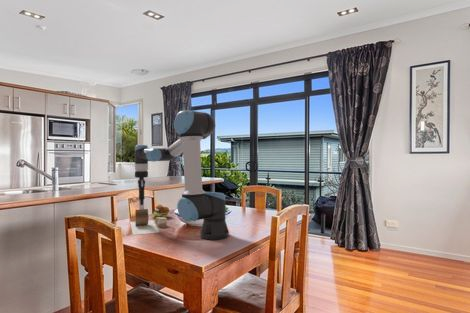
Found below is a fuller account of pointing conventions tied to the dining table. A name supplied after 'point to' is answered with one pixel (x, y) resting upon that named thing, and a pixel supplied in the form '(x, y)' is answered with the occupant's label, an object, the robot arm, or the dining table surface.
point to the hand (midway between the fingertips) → (141, 209)
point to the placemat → (144, 228)
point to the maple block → (161, 222)
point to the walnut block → (141, 217)
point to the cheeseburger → (160, 212)
